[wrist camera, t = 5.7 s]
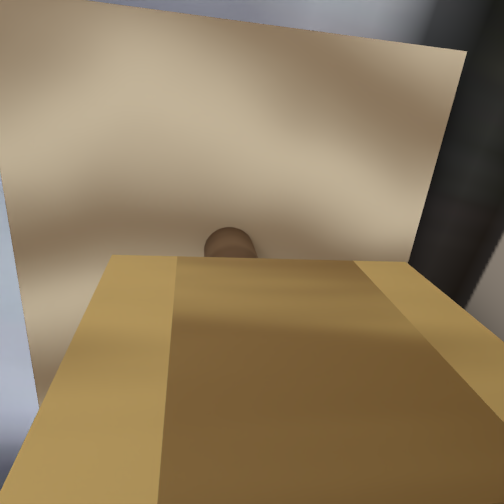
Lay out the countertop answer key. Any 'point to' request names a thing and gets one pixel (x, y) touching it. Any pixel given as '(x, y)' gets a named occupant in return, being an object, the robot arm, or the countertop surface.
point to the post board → (202, 146)
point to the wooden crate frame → (268, 390)
